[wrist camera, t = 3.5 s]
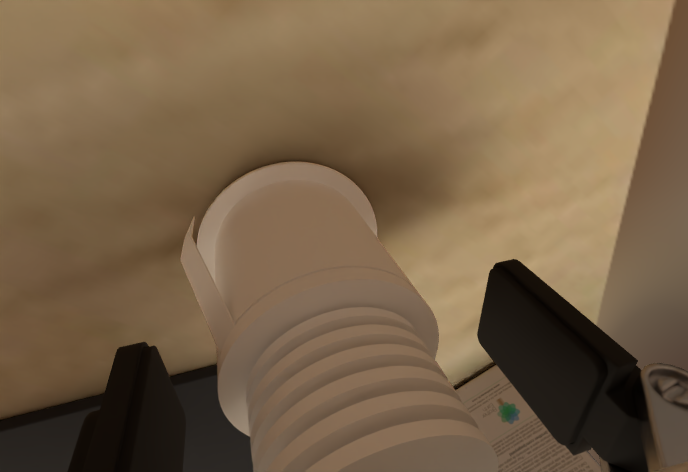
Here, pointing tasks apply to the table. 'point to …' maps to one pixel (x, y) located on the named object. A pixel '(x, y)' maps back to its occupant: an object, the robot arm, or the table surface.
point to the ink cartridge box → (517, 428)
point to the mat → (66, 420)
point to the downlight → (323, 332)
